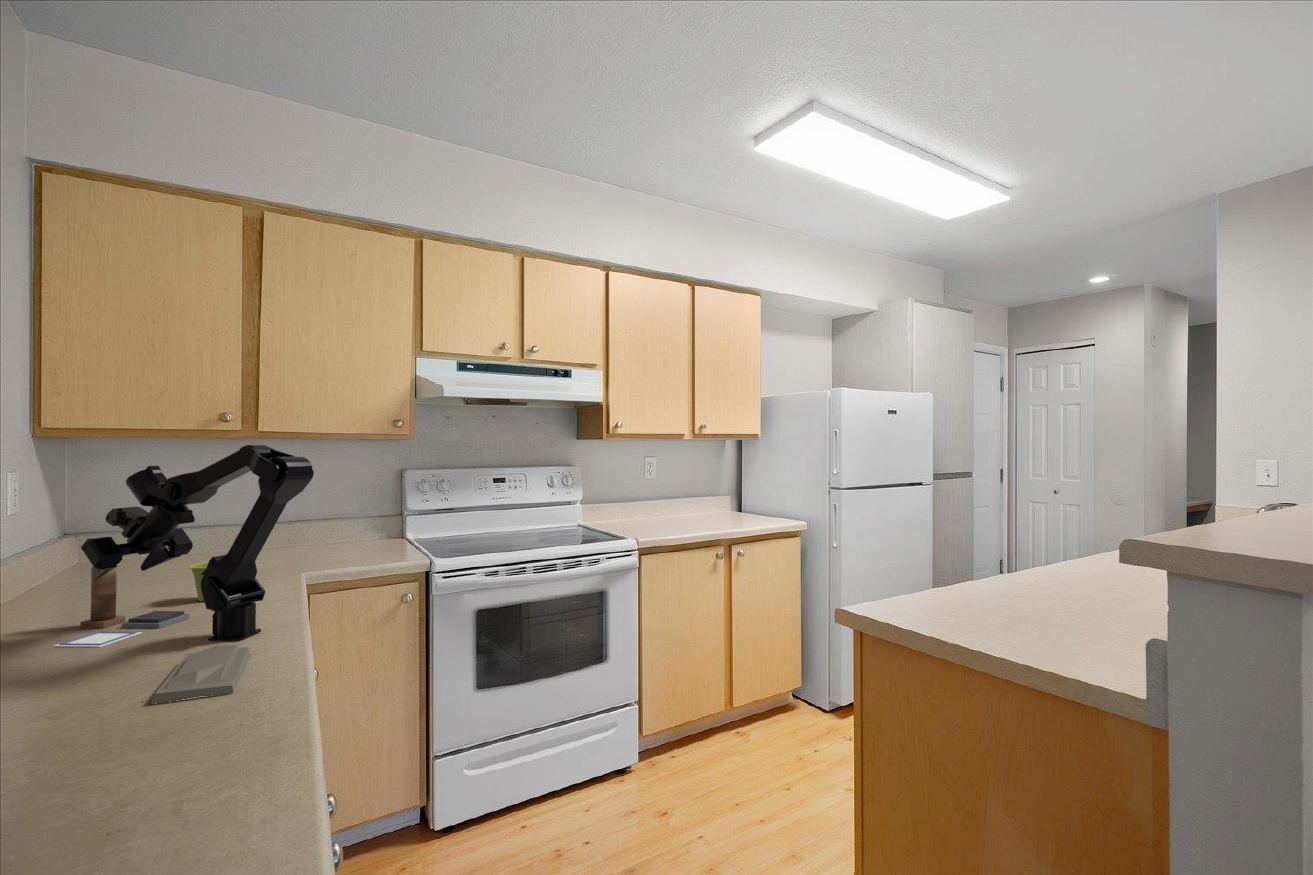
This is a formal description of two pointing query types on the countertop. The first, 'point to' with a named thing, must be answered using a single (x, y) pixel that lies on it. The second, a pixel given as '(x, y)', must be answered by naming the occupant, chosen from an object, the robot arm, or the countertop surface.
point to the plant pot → (199, 577)
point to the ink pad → (155, 619)
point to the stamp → (103, 602)
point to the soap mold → (205, 674)
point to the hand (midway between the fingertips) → (118, 573)
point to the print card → (98, 639)
